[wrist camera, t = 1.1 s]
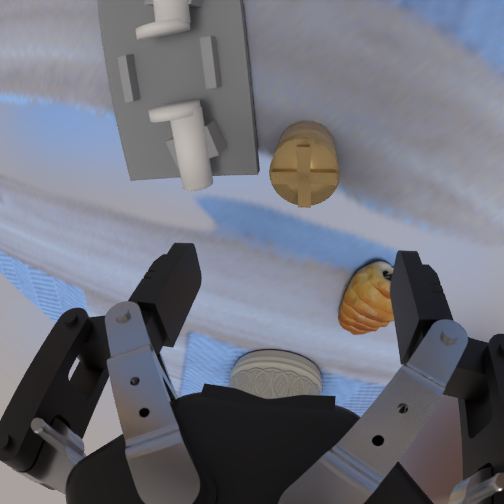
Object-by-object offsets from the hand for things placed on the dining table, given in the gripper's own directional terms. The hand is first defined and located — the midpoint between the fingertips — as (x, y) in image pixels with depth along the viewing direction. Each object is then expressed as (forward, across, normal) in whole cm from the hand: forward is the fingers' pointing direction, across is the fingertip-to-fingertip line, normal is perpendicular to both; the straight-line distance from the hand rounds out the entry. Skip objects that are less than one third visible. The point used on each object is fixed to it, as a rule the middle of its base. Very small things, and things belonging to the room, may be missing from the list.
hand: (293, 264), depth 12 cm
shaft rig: (+15, +10, -8) cm, 20 cm away
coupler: (+15, 0, 0) cm, 15 cm away
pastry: (+16, -7, +15) cm, 23 cm away
